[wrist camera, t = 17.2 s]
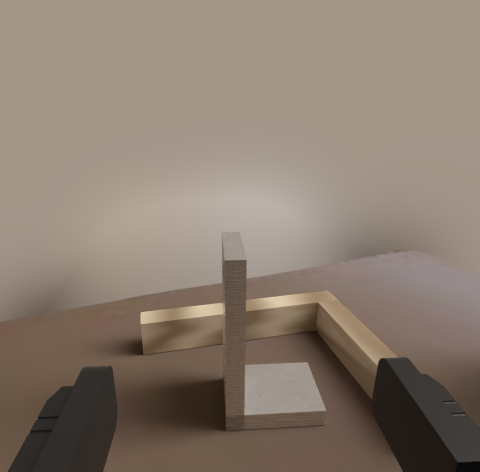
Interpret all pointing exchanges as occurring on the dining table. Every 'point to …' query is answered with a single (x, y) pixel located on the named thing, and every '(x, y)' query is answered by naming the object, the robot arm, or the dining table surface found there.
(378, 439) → the dining table surface
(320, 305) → the wooden l-shaped corner
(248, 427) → the bracket
